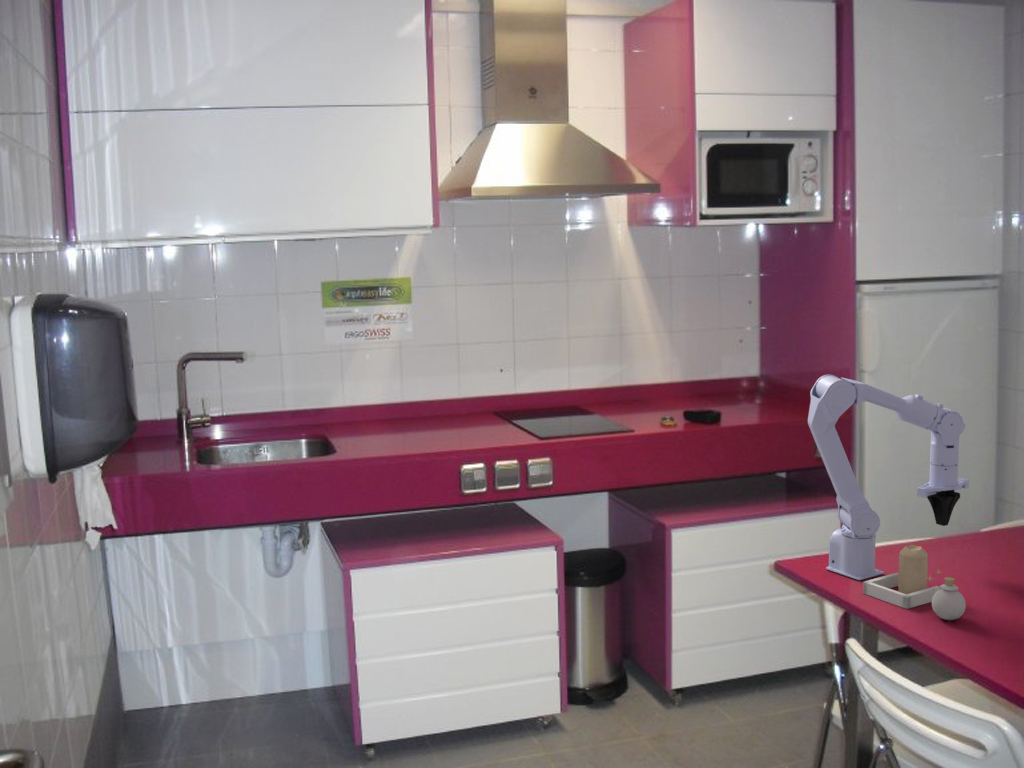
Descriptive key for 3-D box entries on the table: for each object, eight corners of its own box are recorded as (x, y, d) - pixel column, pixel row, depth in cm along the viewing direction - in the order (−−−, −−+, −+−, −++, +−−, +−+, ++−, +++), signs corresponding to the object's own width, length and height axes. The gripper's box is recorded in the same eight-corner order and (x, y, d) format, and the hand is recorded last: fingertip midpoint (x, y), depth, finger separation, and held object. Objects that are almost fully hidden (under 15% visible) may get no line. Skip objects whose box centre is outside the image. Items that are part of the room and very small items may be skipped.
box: (863, 593, 216) (863, 581, 216) (895, 584, 221) (896, 572, 221) (907, 609, 207) (907, 596, 206) (940, 599, 211) (940, 587, 211)
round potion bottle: (967, 625, 197) (969, 575, 196) (925, 623, 199) (927, 573, 198) (962, 614, 203) (963, 564, 202) (921, 612, 205) (923, 563, 203)
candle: (898, 596, 214) (899, 549, 212) (897, 587, 219) (898, 541, 217) (927, 598, 212) (929, 551, 210) (925, 589, 217) (927, 543, 216)
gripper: (937, 471, 218) (935, 534, 220) (981, 462, 225) (979, 523, 227) (909, 465, 224) (908, 526, 226) (953, 456, 231) (951, 516, 233)
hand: (942, 524), depth 227 cm, fingers closed
